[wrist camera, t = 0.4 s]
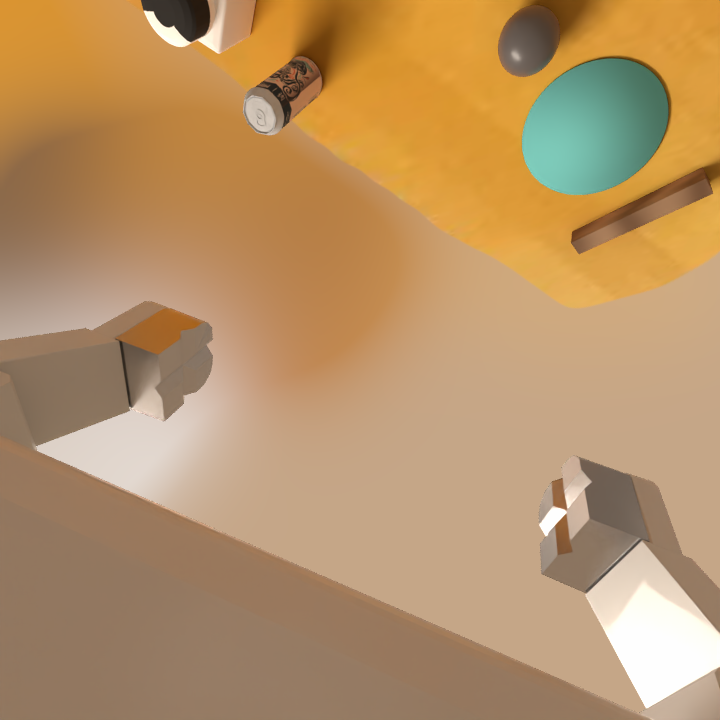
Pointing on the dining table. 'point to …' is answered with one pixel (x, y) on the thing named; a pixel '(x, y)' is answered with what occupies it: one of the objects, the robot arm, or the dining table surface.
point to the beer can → (282, 96)
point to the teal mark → (595, 126)
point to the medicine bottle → (201, 21)
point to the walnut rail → (643, 211)
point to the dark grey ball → (529, 40)
